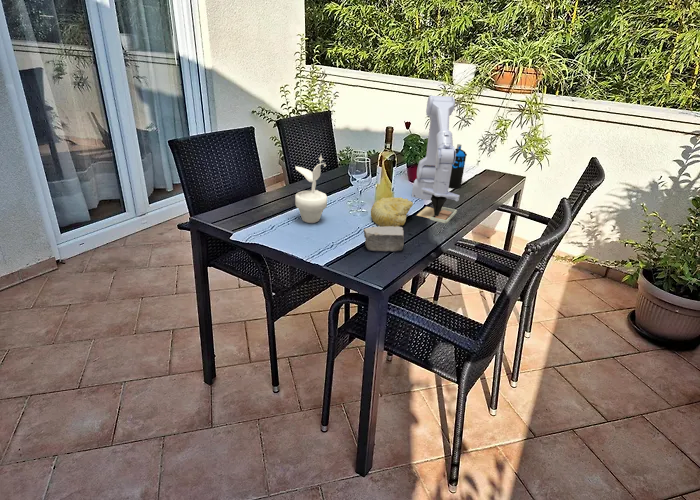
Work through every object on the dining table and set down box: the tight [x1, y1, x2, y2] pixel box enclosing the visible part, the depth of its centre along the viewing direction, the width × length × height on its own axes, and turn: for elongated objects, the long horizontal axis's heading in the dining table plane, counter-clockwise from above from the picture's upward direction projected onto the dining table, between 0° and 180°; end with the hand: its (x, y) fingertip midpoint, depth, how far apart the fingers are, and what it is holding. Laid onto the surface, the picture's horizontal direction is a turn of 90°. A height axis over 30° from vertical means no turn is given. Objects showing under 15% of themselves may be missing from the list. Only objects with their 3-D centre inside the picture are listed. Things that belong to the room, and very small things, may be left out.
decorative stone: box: [363, 226, 405, 253], centre depth 150 cm, size 15×7×10 cm
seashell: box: [370, 196, 414, 227], centre depth 169 cm, size 17×11×15 cm
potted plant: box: [294, 155, 328, 224], centre depth 164 cm, size 13×12×25 cm
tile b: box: [434, 214, 449, 220], centre depth 174 cm, size 4×4×2 cm
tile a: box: [439, 209, 453, 218], centre depth 179 cm, size 4×4×2 cm
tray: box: [429, 206, 458, 225], centre depth 177 cm, size 6×14×2 cm, turn 152°
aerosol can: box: [449, 143, 467, 190], centre depth 213 cm, size 8×8×20 cm
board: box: [416, 206, 435, 220], centre depth 180 cm, size 6×12×2 cm, turn 152°
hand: (436, 214), depth 174 cm, fingers closed
